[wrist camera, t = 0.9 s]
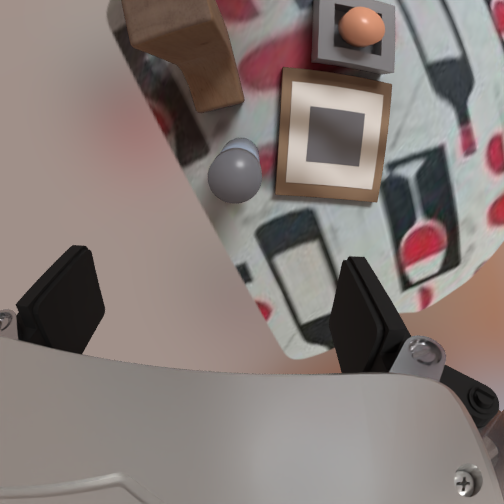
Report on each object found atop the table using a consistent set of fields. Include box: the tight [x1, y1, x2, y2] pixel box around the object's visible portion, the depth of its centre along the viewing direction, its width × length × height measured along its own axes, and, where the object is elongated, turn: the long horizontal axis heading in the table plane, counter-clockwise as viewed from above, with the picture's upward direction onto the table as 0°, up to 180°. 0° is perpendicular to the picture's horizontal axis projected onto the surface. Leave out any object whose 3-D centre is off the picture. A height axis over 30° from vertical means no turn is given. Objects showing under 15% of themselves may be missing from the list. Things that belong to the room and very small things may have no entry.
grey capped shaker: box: [208, 138, 262, 203], centre depth 28 cm, size 4×4×10 cm
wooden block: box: [121, 0, 244, 113], centre depth 20 cm, size 9×4×18 cm, turn 13°
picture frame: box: [275, 67, 392, 202], centre depth 30 cm, size 14×12×1 cm
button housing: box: [311, 0, 395, 74], centre depth 24 cm, size 8×8×4 cm
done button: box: [338, 7, 385, 48], centre depth 21 cm, size 4×4×2 cm
